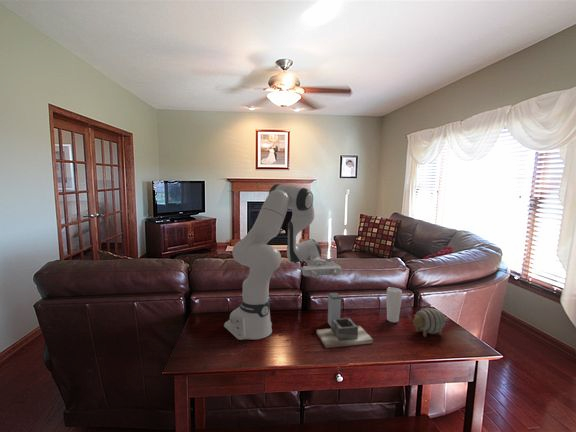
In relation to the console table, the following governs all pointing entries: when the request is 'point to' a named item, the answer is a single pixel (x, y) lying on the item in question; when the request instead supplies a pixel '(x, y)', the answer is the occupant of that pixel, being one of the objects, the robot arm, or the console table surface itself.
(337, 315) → the grey tall block
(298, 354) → the console table surface
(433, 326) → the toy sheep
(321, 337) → the post socket
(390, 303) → the drinking glass
